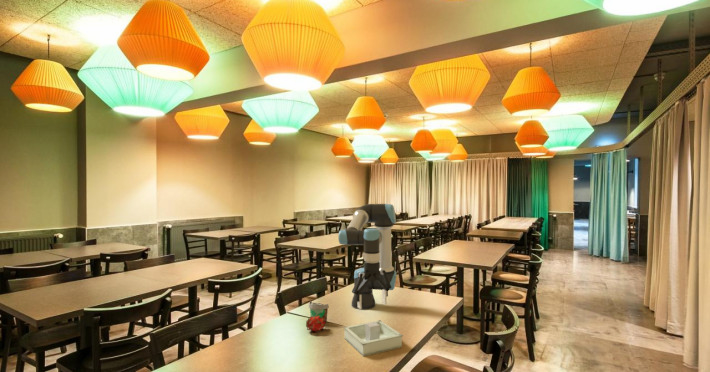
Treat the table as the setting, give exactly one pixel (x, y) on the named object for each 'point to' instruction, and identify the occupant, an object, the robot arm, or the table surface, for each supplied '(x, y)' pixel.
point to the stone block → (372, 331)
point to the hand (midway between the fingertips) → (372, 305)
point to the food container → (318, 310)
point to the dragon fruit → (315, 323)
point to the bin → (384, 343)
